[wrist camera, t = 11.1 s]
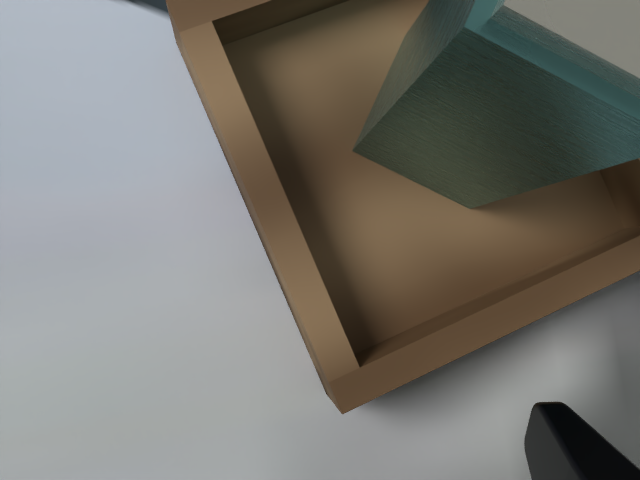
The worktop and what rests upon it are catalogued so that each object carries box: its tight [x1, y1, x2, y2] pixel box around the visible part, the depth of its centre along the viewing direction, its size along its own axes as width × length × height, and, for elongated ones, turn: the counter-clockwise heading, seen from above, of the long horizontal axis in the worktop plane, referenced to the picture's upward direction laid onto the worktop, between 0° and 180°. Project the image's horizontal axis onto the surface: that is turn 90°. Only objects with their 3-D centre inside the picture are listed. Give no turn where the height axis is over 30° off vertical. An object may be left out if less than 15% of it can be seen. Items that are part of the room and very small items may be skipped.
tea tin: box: [352, 0, 640, 209], centre depth 15 cm, size 4×4×10 cm
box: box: [166, 0, 640, 414], centre depth 19 cm, size 13×13×3 cm
